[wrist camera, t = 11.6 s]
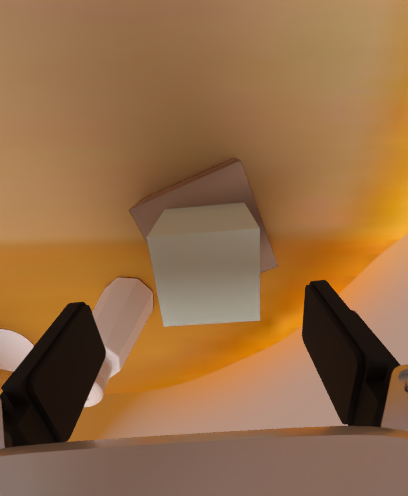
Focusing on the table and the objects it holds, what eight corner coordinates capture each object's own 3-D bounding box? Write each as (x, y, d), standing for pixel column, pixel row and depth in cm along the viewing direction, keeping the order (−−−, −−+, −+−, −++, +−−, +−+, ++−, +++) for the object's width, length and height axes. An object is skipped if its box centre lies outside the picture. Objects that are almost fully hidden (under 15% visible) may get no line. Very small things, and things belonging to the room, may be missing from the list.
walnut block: (141, 198, 23) (128, 210, 19) (235, 157, 21) (240, 160, 17) (183, 278, 26) (179, 301, 22) (267, 247, 24) (278, 266, 21)
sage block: (164, 209, 19) (146, 237, 13) (244, 202, 19) (259, 228, 13) (175, 278, 21) (163, 326, 16) (246, 273, 21) (260, 320, 15)
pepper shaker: (142, 269, 25) (96, 355, 15) (163, 311, 27) (135, 413, 17) (94, 283, 26) (19, 375, 16) (117, 323, 28) (65, 428, 18)
